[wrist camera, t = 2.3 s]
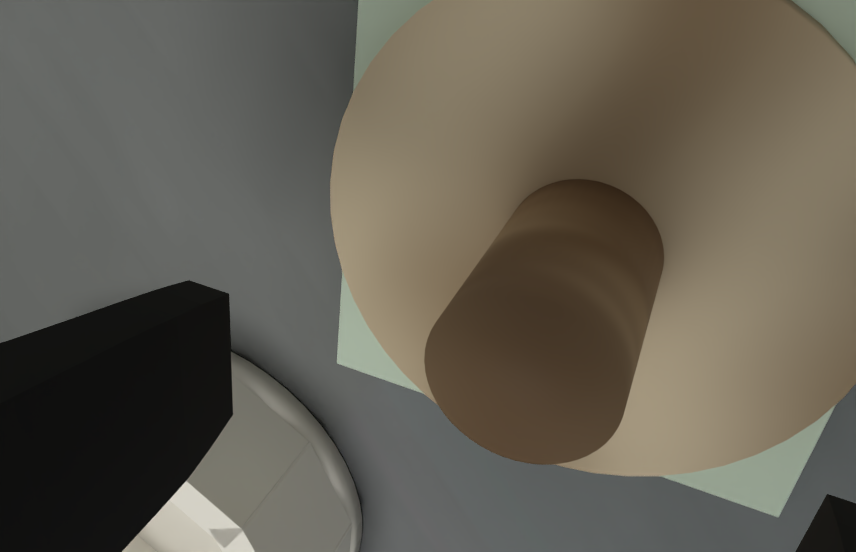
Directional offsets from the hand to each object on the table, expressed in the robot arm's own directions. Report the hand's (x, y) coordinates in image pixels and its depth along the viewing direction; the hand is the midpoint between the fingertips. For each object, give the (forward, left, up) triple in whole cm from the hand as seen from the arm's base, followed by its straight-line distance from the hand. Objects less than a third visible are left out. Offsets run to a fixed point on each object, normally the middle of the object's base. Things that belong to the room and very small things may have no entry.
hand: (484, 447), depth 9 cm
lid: (0, 0, -6) cm, 6 cm away
